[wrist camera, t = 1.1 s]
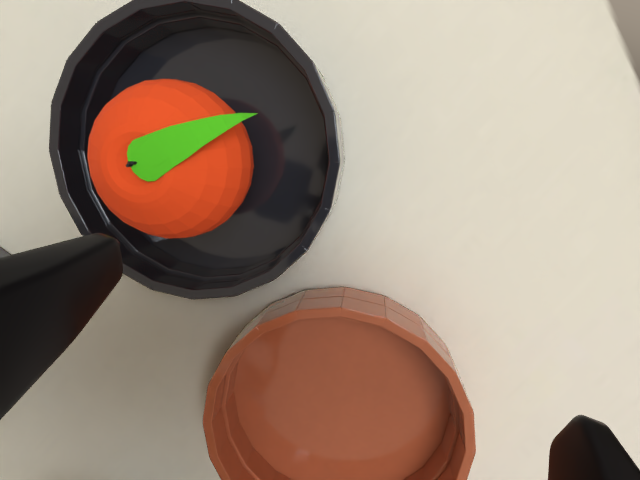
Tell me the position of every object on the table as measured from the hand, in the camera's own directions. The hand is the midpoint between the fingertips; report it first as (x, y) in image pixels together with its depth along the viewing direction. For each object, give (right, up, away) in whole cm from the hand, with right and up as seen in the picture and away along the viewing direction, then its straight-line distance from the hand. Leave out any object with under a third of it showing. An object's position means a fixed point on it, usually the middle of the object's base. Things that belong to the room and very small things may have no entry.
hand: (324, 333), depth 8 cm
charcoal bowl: (-6, +6, +15) cm, 17 cm away
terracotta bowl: (+1, -7, +17) cm, 18 cm away
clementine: (-6, +6, +15) cm, 17 cm away
